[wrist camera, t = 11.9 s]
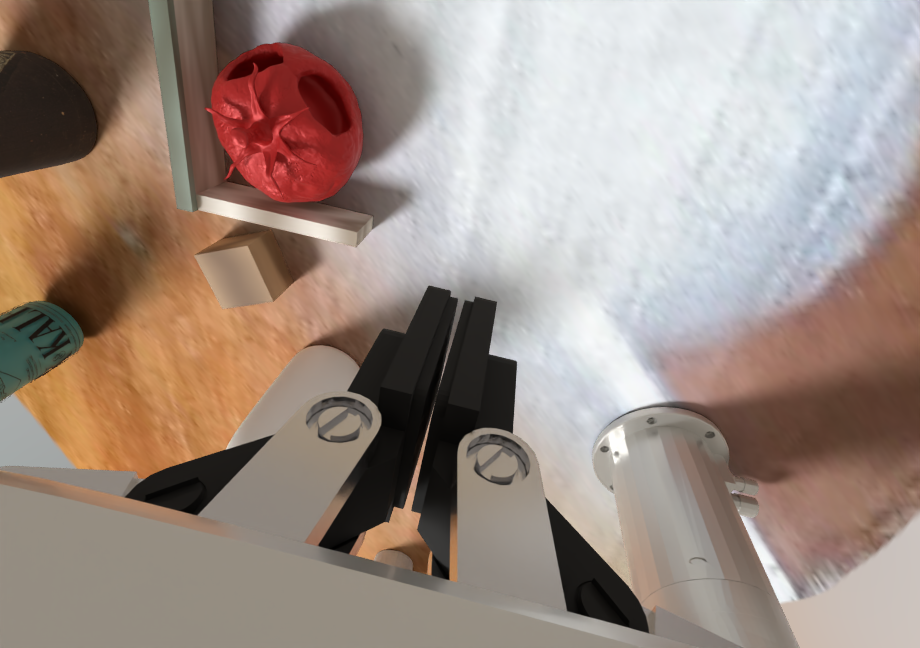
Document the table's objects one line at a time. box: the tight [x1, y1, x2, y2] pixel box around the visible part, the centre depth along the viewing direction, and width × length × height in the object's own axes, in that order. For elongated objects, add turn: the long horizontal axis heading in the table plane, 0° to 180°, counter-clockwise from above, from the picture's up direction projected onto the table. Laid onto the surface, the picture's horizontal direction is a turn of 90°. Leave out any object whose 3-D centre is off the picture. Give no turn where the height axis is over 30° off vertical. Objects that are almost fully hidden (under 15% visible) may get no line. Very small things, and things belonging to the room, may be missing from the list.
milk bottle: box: [226, 345, 360, 449], centre depth 38 cm, size 8×8×20 cm
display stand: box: [148, 0, 373, 247], centre depth 31 cm, size 14×17×5 cm
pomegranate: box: [205, 43, 363, 203], centre depth 30 cm, size 10×10×9 cm
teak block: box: [194, 230, 294, 309], centre depth 39 cm, size 5×5×4 cm
